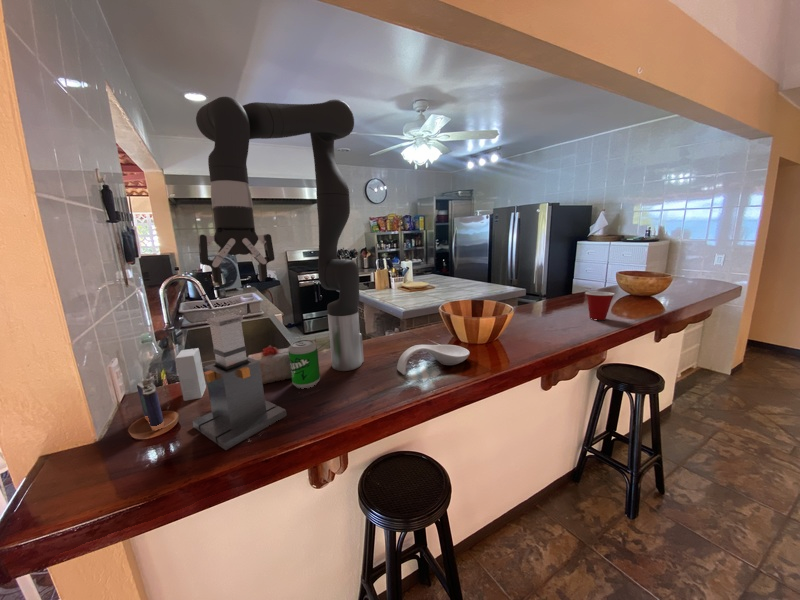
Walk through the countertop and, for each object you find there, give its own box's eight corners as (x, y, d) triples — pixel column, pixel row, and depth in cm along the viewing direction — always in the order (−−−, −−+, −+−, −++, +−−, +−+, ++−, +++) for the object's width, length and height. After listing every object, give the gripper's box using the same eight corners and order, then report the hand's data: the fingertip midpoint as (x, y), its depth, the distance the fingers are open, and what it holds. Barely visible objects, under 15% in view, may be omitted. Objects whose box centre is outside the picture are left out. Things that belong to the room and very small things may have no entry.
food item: (248, 390, 87) (242, 356, 85) (248, 378, 94) (244, 346, 92) (299, 379, 92) (296, 347, 90) (296, 368, 99) (293, 338, 97)
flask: (143, 417, 75) (133, 375, 73) (158, 412, 77) (149, 371, 75) (152, 433, 69) (142, 388, 67) (168, 427, 71) (159, 383, 69)
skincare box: (188, 391, 87) (180, 349, 85) (206, 387, 89) (199, 347, 86) (182, 401, 82) (174, 358, 79) (201, 398, 83) (194, 355, 81)
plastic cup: (604, 315, 144) (607, 289, 142) (616, 322, 134) (620, 294, 131) (578, 315, 146) (581, 289, 143) (589, 322, 136) (592, 294, 133)
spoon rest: (454, 351, 109) (454, 331, 108) (477, 364, 99) (477, 342, 97) (391, 366, 99) (391, 344, 98) (409, 382, 89) (408, 357, 87)
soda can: (310, 375, 95) (306, 336, 92) (325, 382, 90) (322, 341, 87) (287, 385, 89) (282, 344, 86) (302, 393, 84) (298, 350, 82)
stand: (253, 399, 82) (245, 347, 79) (286, 415, 74) (279, 359, 71) (193, 427, 71) (182, 368, 68) (225, 450, 63) (214, 385, 60)
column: (246, 411, 76) (231, 313, 70) (257, 417, 73) (242, 315, 68) (224, 422, 72) (206, 318, 66) (235, 429, 69) (217, 322, 64)
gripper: (263, 209, 74) (270, 278, 77) (190, 206, 65) (201, 284, 68) (273, 205, 68) (280, 281, 71) (194, 202, 60) (206, 288, 63)
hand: (241, 283), depth 70 cm, fingers open, 8 cm apart
